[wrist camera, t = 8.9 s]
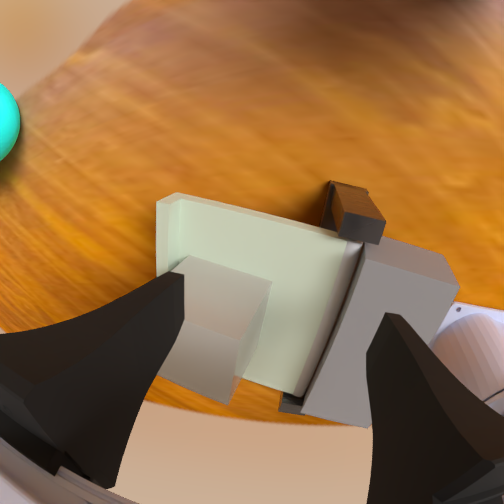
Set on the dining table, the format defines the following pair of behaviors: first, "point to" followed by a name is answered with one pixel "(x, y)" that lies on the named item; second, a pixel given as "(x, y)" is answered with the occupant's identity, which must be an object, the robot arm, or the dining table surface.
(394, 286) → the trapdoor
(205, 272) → the grey cube
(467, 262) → the dining table surface
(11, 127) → the teal yo-yo
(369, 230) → the frame
